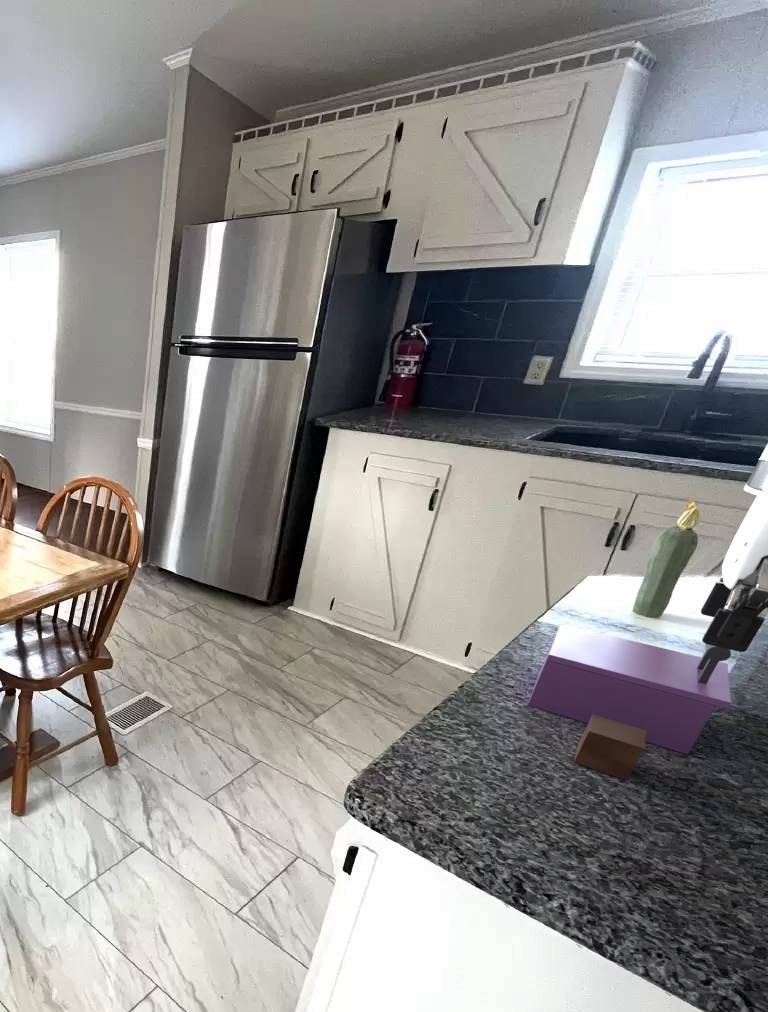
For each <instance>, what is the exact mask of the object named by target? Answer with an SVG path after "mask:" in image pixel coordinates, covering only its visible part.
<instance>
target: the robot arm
mask: <svg viewBox="0 0 768 1012" xmlns="http://www.w3.org/2000/svg"><path fill="white" fill-rule="evenodd" d="M743 491H745V492H747V493H749V494H751V495H754V496H756V497H755V499H754V501H753V502H752V503H751V506H750V508H749V510H748V511H747V513H746V515H745V516H744V518H743V520H742V522H741V524H740V526H739V528H738V530H737V532H736V534H735V535H734V537H733V540H732V542H731V543H730V546H729V548H728V550H727V552H726V554H725V557H724V559H723V561H722V565H721V574H722V575H721V576H720V577H719V581H716V582H715V583H714V585H713V587H712V589H711V591H710V592H709V594H708V597H707V598H706V600H705V602H704V603H703V605H702V607H701V609H700V613H701V615H703V616H706V617H712V621H711V622H710V624H709V626H708V627H707V629H706V631H705V633H704V635H703V637H702V641H701V642H702V643H703V644H709V645H713V646H717V647H721V648H725V649H730V650H731V651H733V652H734V651H735V652H738V653H744V652H746V651H747V650H748V649H749V647H750V646H751V644H752V642H753V641H754V639H755V637H756V635H757V634H758V632H759V631H760V628H761V627H762V626H763V624H764V622H765V621H766V616H767V614H768V443H767V444H766V446H765V448H764V449H763V452H762V453H761V456H760V458H759V459H758V461H757V463H756V464H755V467H753V470H752V472H751V474H750V475H749V478H748V479H747V481H746V484H745V485H744V487H743Z"/></svg>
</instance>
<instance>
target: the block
mask: <svg viewBox="0 0 768 1012" xmlns="http://www.w3.org/2000/svg"><path fill="white" fill-rule="evenodd" d="M645 737H646V730H644V729H640V728H637V727H634V726H630V725H627V724H624V723H620V722H617V721H614V720H610V719H607V718H604V717H600V716H597V715H594V714H592V716H591V718H590V720H589V723H587V725H586V727H585V729H584V731H583V733H582V735H581V737H580V739H579V741H578V744H577V746H576V750H575V755H574V758H573V759H574V760H573V763H574V764H577V765H580V766H583V767H586V768H589V769H592V770H594V771H597V772H600V773H604V774H607V775H609V776H612V777H615V778H618V779H621V780H624V781H628V780H629V778H630V777H631V775H632V772H633V771H634V769H635V767H636V765H637V763H638V762H639V760H640V758H641V756H642V754H643V753H644V750H645V746H646V741H645Z"/></svg>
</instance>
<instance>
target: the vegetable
mask: <svg viewBox="0 0 768 1012" xmlns="http://www.w3.org/2000/svg"><path fill="white" fill-rule="evenodd" d="M698 505H699V504H698V503H697V502H696V501H694V500H691V499H689V500H688V504H686V506H685V507H684V508H683V510H685V511H684V512H683V513H682V514H681V516H680V517H679V518H678V519H677V525H673V526H670V527H668V528H666V529H664V530H663V531H662V532H660V533H659V534H658V536H657V537H656V538H655V540H654V542H653V544H652V547H651V550H650V552H649V555H648V559H647V562H646V569H645V574H644V576H643V578H642V582H641V584H640V586H639V588H638V591H637V594H636V598H635V601H634V603H633V606H632V612H633V613H635V614H636V615H638V616H642V617H645V618H652V619H657V618H661V617H662V616H663V614H664V612H665V611H666V609H667V608H668V606H669V604H670V602H671V599H672V595H673V592H674V590H675V588H676V585H677V583H678V581H679V579H680V578H681V575H682V573H683V572H684V570H685V568H687V565H688V563H689V561H690V560H691V559H692V557H693V555H694V554H695V551H696V549H697V547H698V543H699V537H698V534H697V532H695V530H694V529H693V528H695V527H697V526H698V525H699V524H700V522H701V516H702V515H701V511H700V510H699V508H698Z"/></svg>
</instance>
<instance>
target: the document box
mask: <svg viewBox="0 0 768 1012" xmlns="http://www.w3.org/2000/svg"><path fill="white" fill-rule="evenodd" d="M556 633H557V631H556V632H555V634H556ZM554 638H555V636H554V637H553V640H552V641H551V643H550V647H549V649H548V651H547V654H546V656H545V659H544V661H543V663H542V664H541V668H540V670H539V673H538V676H537V678H536V680H535V683H534V686H533V689H532V691H531V693H530V697H529V700H528V702H527V703H526V705H527V706H529V707H533V708H537V709H540V710H543V711H545V712H549V713H552V714H556V715H558V716H562V717H565V718H567V719H568V718H569V719H572V720H575V721H579V722H581V723H584V724H588V723H589V720H590V718H591V716H592V714H594V715H597V716H600V717H604V718H607V719H610V720H614V721H617V722H620V723H624V724H627V725H630V726H634V727H637V728H640V729H644V730H646V737H645V743H650V744H653V745H656V746H659V747H662V748H666V749H669V750H672V751H675V752H678V753H681V754H684V755H689V753H690V751H691V750H692V748H693V747H694V745H695V743H696V741H697V739H698V738H699V736H700V734H701V733H702V731H703V729H704V728H705V726H706V724H707V722H708V720H709V718H711V715H712V713H713V712H714V710H715V708H716V705H712V704H708V703H705V702H701V701H697V700H694V699H690V698H686V697H683V696H679V695H675V694H671V693H668V692H664V691H660V690H657V689H653V688H649V687H645V686H642V685H638V684H634V683H631V682H627V681H623V680H619V679H616V678H612V677H608V676H605V675H601V674H597V673H593V672H590V671H586V670H582V669H579V668H575V667H571V666H567V665H564V664H560V663H556V662H553V661H549V660H546V659H547V656H548V654H549V651H550V649H551V646H552V643H553V641H554Z"/></svg>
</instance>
